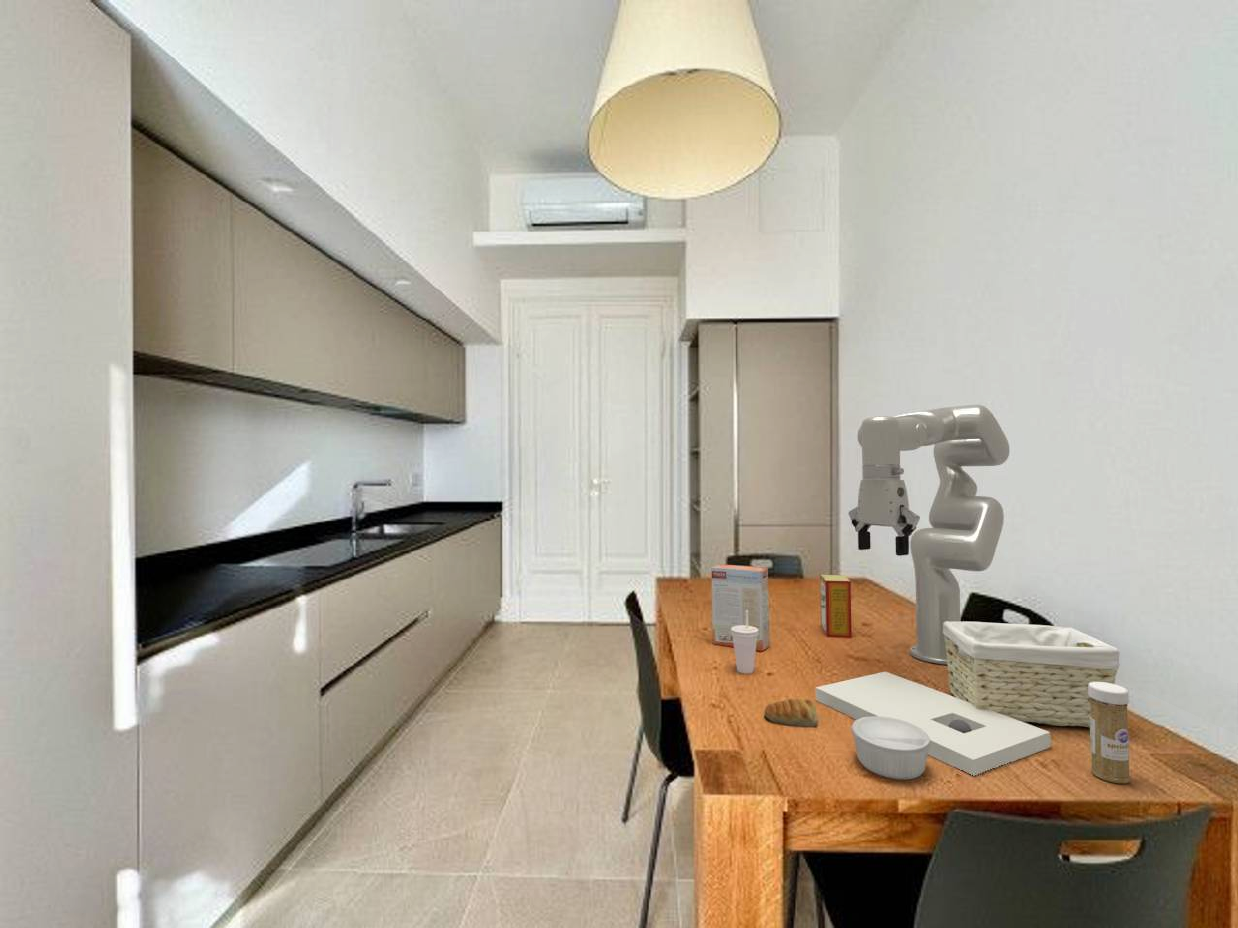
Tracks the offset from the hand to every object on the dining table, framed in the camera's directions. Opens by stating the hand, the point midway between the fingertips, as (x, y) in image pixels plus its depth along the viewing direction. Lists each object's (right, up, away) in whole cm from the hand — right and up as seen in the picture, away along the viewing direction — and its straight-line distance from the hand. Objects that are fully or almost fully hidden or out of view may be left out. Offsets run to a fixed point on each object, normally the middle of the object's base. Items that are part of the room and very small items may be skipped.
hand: (882, 552), depth 122 cm
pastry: (-25, -29, -18) cm, 42 cm away
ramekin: (-15, -28, -34) cm, 47 cm away
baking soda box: (+4, -29, +38) cm, 48 cm away
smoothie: (-28, -29, +8) cm, 41 cm away
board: (-2, -28, -19) cm, 34 cm away
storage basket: (+20, -28, -16) cm, 37 cm away
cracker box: (-25, -29, +27) cm, 47 cm away
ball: (+1, -26, -27) cm, 37 cm away
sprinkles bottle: (+16, -28, -38) cm, 50 cm away
